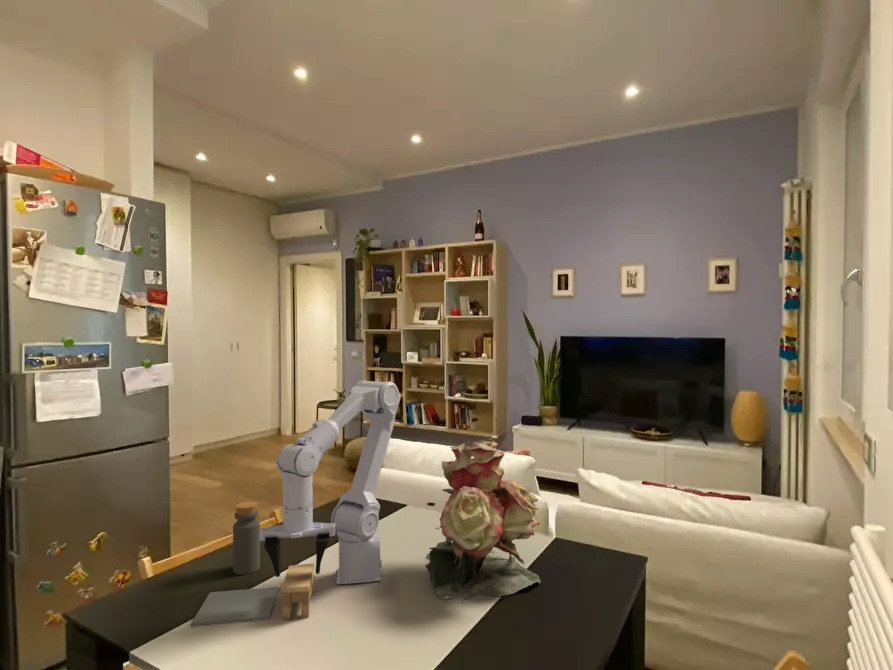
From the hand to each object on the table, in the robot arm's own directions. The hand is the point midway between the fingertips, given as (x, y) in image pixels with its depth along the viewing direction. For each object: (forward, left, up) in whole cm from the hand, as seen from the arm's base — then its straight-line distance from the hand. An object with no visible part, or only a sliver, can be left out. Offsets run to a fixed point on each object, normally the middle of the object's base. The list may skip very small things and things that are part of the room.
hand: (298, 573), depth 102 cm
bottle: (+14, -19, -7) cm, 25 cm away
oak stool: (0, 0, -6) cm, 6 cm away
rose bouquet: (-40, -7, -7) cm, 41 cm away
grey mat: (+12, -2, -6) cm, 14 cm away
